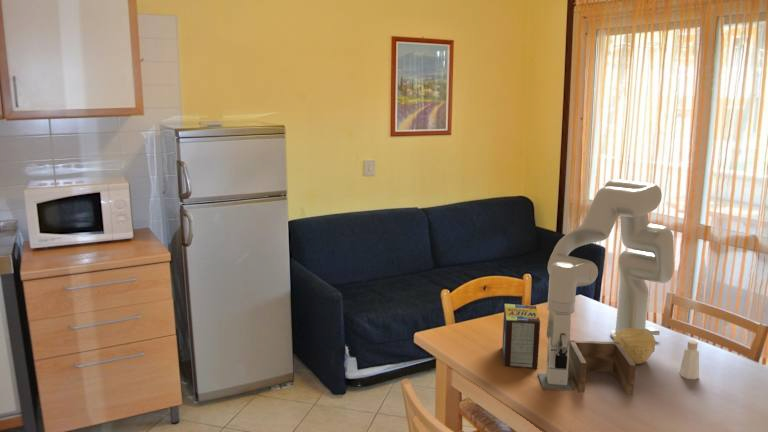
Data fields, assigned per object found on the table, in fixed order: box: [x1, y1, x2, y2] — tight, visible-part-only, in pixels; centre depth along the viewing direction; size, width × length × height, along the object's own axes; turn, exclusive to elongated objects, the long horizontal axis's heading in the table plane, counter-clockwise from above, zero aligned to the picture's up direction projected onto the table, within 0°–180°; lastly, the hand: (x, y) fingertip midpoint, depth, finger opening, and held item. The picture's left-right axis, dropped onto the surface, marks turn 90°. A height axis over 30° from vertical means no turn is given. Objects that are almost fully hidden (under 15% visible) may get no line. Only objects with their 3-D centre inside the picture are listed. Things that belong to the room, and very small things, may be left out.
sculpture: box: [612, 328, 657, 365], centre depth 198 cm, size 11×12×11 cm
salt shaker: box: [678, 339, 700, 380], centre depth 187 cm, size 5×5×11 cm
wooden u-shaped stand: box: [568, 339, 637, 396], centre depth 183 cm, size 15×16×9 cm
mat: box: [537, 372, 576, 391], centre depth 182 cm, size 9×9×1 cm
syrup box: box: [545, 336, 570, 385], centre depth 181 cm, size 6×6×14 cm
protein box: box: [501, 303, 541, 369], centre depth 198 cm, size 10×15×16 cm
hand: (557, 360), depth 181 cm, fingers open, 9 cm apart
